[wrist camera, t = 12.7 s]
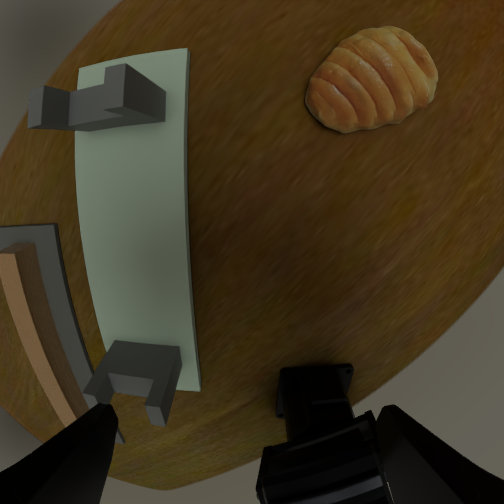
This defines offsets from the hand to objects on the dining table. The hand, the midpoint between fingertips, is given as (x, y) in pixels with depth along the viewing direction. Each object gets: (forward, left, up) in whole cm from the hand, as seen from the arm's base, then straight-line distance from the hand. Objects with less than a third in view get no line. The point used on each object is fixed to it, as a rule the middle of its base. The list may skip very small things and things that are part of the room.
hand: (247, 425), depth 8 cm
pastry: (+14, -8, -14) cm, 21 cm away
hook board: (+2, +8, -13) cm, 15 cm away
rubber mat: (-10, +19, -13) cm, 25 cm away
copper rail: (-10, +19, -12) cm, 25 cm away
